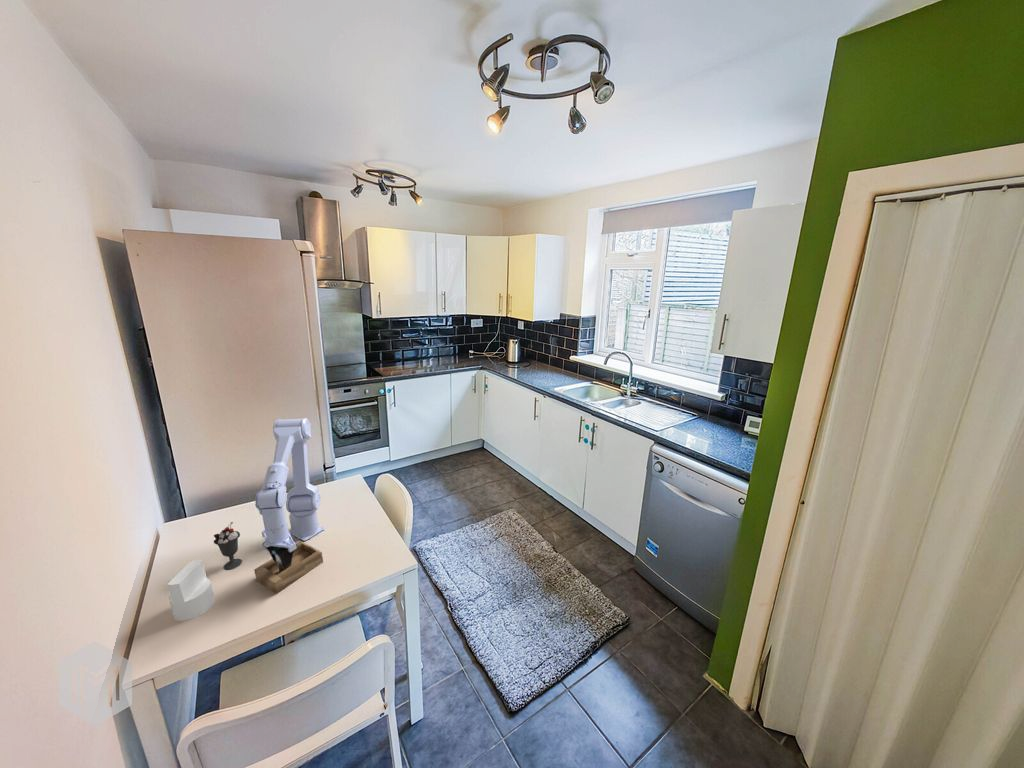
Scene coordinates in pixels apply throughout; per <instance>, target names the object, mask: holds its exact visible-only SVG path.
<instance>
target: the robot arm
mask: <svg viewBox="0 0 1024 768" xmlns="http://www.w3.org/2000/svg"><path fill="white" fill-rule="evenodd" d="M311 428H312V426H311V422H310V420H309V419H308V418H306V417H303V418H291V419H288V418H287V419H276V420H275V422H273V425H272V433H273V436H274V439H275V440H276V443H275V444H276V445H275V450H274V456H273V462H272V464H271V465H269V466H268V467H267V469H266V473H265V477H264V480H263V484H262V487H261V489H260V490H259V491H258V492H257V493H256V496H255V502H254V503H255V504H254V505H255V506H254V507H255V509H257V510H258V513H259V515H261V516H262V521H263V526H264V529H263V530H262V531H261V535H262V538H264V539H265V541H264V542H263V543H262V546H263V548H265V549H266V550H267V552H268V553H269V555H270V556H271V559H272V558H273V560H274V561H275V562H276V557H275V554H272V549H273V548H274V547H275V546H276V547H281V548H279V549H277V550H276V551H275V553H276V554H277V555H278V556H279V558H280V560H281V563H282V565H283V567H285V568H286V567H287V566H289V565H290V564H291V563H292V556H293V552H294V550H295V549H296V546H297V542H296V541H294V539H293V537H295V538H296V539H299V540H301V541H302V542H303V541H304V542H307V541H308V540H310V539H311V538H313V537H314V536H316V535H318V534H319V533H321V532H323V531H325V527H324V526H322V525H319V518H318V511H317V510H318V509H319V508H320V506H321V494H320V491H319V487H317V486H316V485H314V484H311V483H310V474H309V473H310V470H309V456H308V440H310V439H312V429H311ZM290 455H291V466H292V476H293V477H292V478H293V479H292V480H293V487H292V488H291V489H289V490H288V492H287V486H286V484H287V479H288V475H289V471H290V468H289V467H288V466H287V463H288V461H289V457H290ZM286 511H287V512H288V513H289V514H288V515H289V516H288V518H289V525H290V529H291V530H290V531H289V527H288V526H289V525H288V521H287V515H286V514H287V513H286ZM292 536H293V537H292Z"/></svg>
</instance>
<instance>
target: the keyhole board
mask: <svg viewBox="0 0 1024 768" xmlns="http://www.w3.org/2000/svg"><path fill="white" fill-rule="evenodd" d="M296 544H297V546H296V549H295V550H294V552H293V556H292V563H291V564H292V566H290V567H288V568H287V569H285V570H284V571H282V572H281V573H280V572H279V569H278V565H277V561H276V562H275V561H274V560H273V558H272V557H271V559H269V560H268V561H266V562H264V563H263V564H261V565H258V567H256V568H255V569H253V571H254V575H255V579H256V581H257V582H259V583H260V584H261V585H263V586H264V587H266V588H268V589H269V590H271V591H272V592H274V594H279V593H281V592H282V591H284V590H285V589H286V588H288V587H289V586H291V585H292V584H293V583H295V582H296V581H298V580H299V579H301V578H302V577H304V576H305V575H306V574H309V572H311V571H312V570H314V569H315V568H317V567H318V566H319V565H321V564H322V563H324V557H323V552H322V551H320V550H319V549H317V548H315V547H313V546H311V545H310V544H308V543H305V541H304V542H303V540H301V541H299V542H296Z"/></svg>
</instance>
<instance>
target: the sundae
mask: <svg viewBox="0 0 1024 768" xmlns="http://www.w3.org/2000/svg"><path fill="white" fill-rule="evenodd" d="M233 523H234V522H233V521H231V522H230V523H229V525H228V526H226V527H225V528H224V529H223V530H221V531H220V532H219V533H216V534H213V537H214V538H215V539H214V540H213V544H214V545H217V546H218V548H219V551H220V553H221V554H222V556H223V557H226V558H227V557H228V558H229V561H227V562H226V563H225V564H224V565H223V570H227V571H230V570H233V569H237V568H238V567H240V566H241V565H242V563H243V559H241V558H235V557H234V556H235V554H236V553H237V552H238V550H239V549H238V548H239V544H238V543H239V542H238V540H239V539H238V538H240V536H241V534H240V531H238V530H235V529H234V528H232V524H233Z"/></svg>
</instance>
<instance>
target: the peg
mask: <svg viewBox="0 0 1024 768" xmlns="http://www.w3.org/2000/svg"><path fill="white" fill-rule="evenodd" d="M279 548H281V547H276V546H275V547H274V548H273V549H272V554H275V557H276V561H277V565H278V569H279V572H280V573H281V572H282V571H284V570H285V569H287V568H288V567H290V566H292V564H290V565H289V566H287V567H286V568H285V567H283V565H282V563H281V560H280V558H279V556H278V555H277V554H276V553H275V551H276V550H277V549H279Z"/></svg>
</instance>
